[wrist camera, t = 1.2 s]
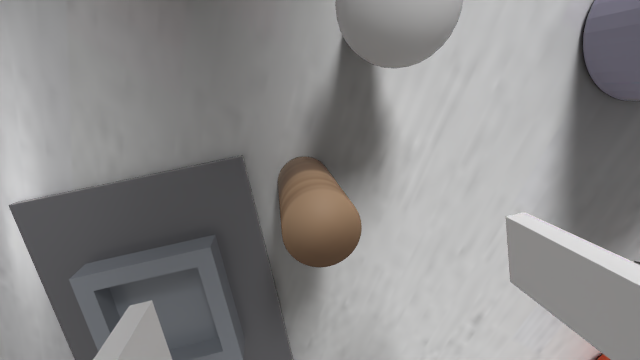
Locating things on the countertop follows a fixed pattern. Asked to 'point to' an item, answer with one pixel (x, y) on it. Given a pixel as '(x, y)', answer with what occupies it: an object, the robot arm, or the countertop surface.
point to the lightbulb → (397, 28)
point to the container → (614, 47)
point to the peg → (316, 214)
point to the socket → (160, 262)
